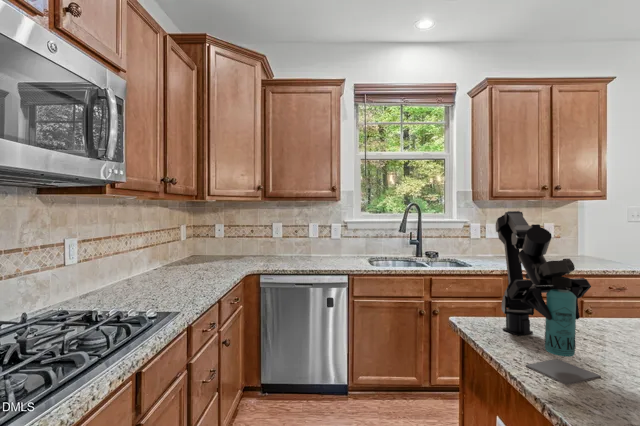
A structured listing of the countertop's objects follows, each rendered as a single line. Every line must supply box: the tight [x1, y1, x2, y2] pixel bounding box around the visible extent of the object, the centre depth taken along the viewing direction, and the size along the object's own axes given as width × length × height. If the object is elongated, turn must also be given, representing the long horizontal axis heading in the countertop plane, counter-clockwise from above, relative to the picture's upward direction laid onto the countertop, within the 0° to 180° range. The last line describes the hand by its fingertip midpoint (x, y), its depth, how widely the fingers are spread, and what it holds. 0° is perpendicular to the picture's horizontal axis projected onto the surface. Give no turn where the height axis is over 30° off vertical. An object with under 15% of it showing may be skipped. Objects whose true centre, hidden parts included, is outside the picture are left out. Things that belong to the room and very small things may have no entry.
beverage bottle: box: [543, 276, 577, 358], centre depth 91 cm, size 6×7×20 cm
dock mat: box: [525, 358, 602, 386], centre depth 91 cm, size 11×11×1 cm
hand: (564, 319), depth 89 cm, fingers closed on beverage bottle, 6 cm apart
